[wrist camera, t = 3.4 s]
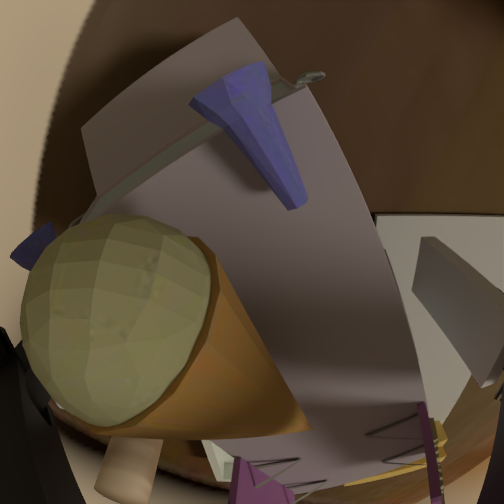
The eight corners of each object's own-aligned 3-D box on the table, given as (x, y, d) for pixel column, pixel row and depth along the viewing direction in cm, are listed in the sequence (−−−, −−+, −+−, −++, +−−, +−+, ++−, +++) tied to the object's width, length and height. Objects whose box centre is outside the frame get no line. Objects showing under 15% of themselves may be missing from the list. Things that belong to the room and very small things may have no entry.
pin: (138, 347, 22) (84, 480, 11) (177, 349, 22) (136, 494, 11) (148, 375, 23) (107, 500, 12) (185, 378, 23) (155, 511, 12)
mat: (374, 213, 17) (377, 215, 17) (522, 216, 17) (525, 217, 16) (330, 447, 28) (331, 450, 27) (439, 425, 27) (440, 427, 27)
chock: (343, 441, 27) (349, 475, 22) (439, 420, 26) (451, 449, 22) (338, 453, 28) (344, 486, 24) (430, 433, 27) (441, 461, 23)
